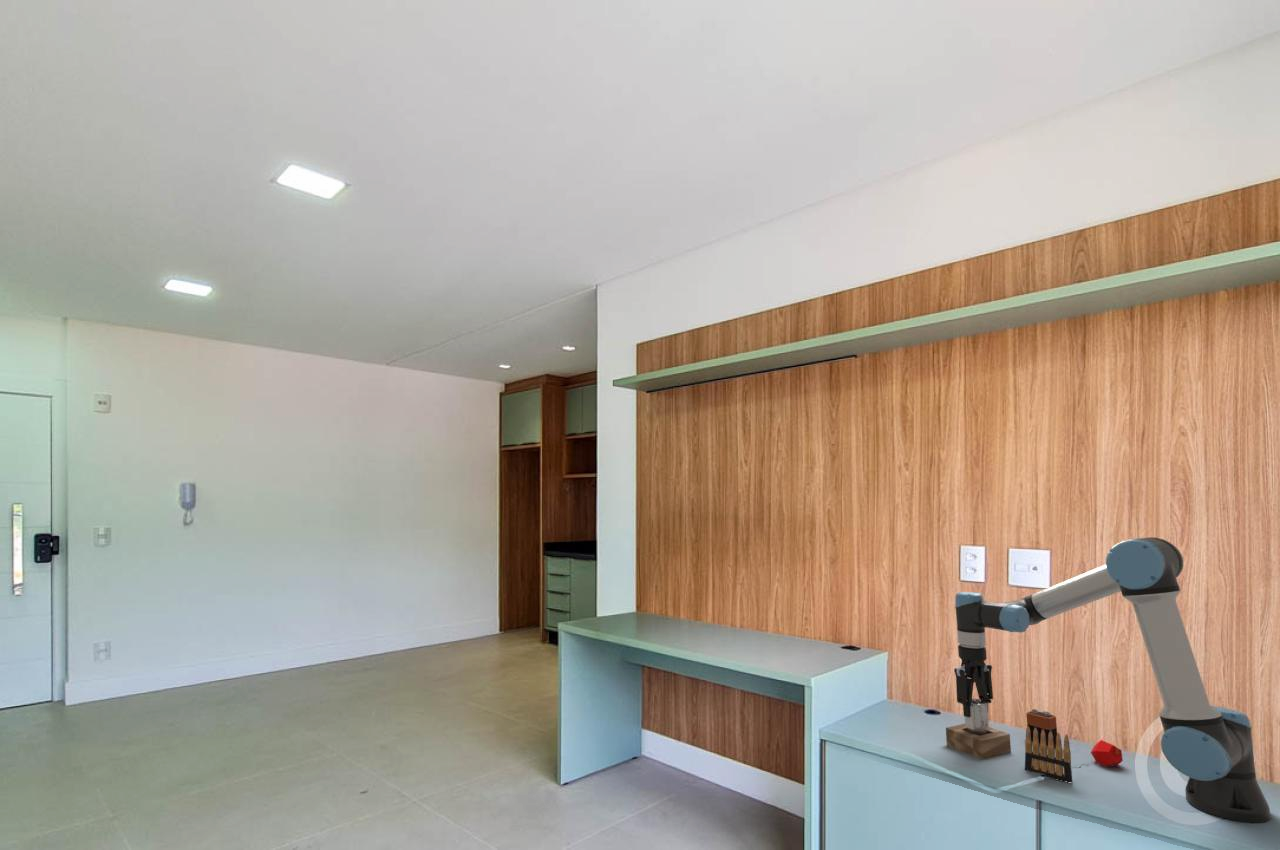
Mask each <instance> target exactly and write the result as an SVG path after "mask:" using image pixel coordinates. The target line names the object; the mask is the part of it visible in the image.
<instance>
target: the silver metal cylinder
mask: <svg viewBox="0 0 1280 850" xmlns="http://www.w3.org/2000/svg"><path fill="white" fill-rule="evenodd" d="M971 705H972V706H974V720H975V729H974V730H973V729H970V728H967V730H968V732H970V733H973V734H976V735H978V736H981V735H985V734H987V727H988V726H987V721H986V706H985V703H984V702H982V701H981V700H980V699H979V698H972V703H971Z"/></svg>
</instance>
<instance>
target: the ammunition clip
mask: <svg viewBox="0 0 1280 850" xmlns="http://www.w3.org/2000/svg"><path fill="white" fill-rule="evenodd" d="M1025 729H1026V730H1025V740H1024V748H1025V749H1024V751H1025V752H1024V753H1025V754H1024V755H1025V757H1024V770H1025V771H1030V772H1032V773H1033V772H1034V773H1037V774H1041V775H1040V776H1041V777H1044V778H1049V779H1053V780H1056V779H1058V780H1057V781H1060V780H1062V781H1061V782H1064V781H1067V782H1066V783H1068V782H1072V783H1073V774H1072V773H1073V772H1072V755H1071V748H1070V747H1071V746H1070V739H1069V735H1068V734H1067V733H1066V734H1065V736H1064V740H1063V744H1062V738H1061V734H1060V732H1057V737H1056V748H1054V742H1053V735H1052V732H1051V731H1050V732H1049V736H1048V746H1047V745H1046V736H1045V732H1044V729H1042V731H1041V742H1040V744H1039V739H1038V732H1037V729H1036V727H1035V729H1034V732H1033V742H1032V741H1031V732H1030V728H1029V726H1027V725H1026V728H1025ZM1062 745H1063V746H1062ZM1062 747H1063V748H1062Z"/></svg>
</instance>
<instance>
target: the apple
mask: <svg viewBox="0 0 1280 850" xmlns="http://www.w3.org/2000/svg"><path fill="white" fill-rule="evenodd" d="M1090 754H1091V755H1092V757H1093V759H1094V760H1095V763H1097V762H1098V763H1097V764H1099V763H1100V764H1099V765H1101V764H1102V765H1103V767H1104V766H1107V767H1113V766H1112V765H1115V766H1118V765H1119V764H1121V763H1122V762H1124V760H1123V753H1122V749H1120V748H1118V747H1117V746H1115V745H1114V744H1112V743H1110V742H1107V741H1105V740H1102V739H1101V740H1099V741H1097V742H1096V744H1095V745H1094V746H1093V748H1092V749H1091V751H1090ZM1102 765H1101V766H1102Z"/></svg>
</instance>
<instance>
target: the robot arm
mask: <svg viewBox="0 0 1280 850" xmlns="http://www.w3.org/2000/svg"><path fill="white" fill-rule="evenodd" d="M1183 569H1184V557H1183V555H1182V553H1181V552H1180V550H1179V549H1178V548H1177V547H1176V546H1175V545H1174V544H1173V543H1171V542H1170V541H1168V540H1166V539H1163V538H1160V537H1142V538H1139V537H1137V538H1128V539H1125V540H1122V541H1120V542H1118V543H1116V544H1115V545H1113V546H1112V547H1111V548H1110V549H1109V551H1108V552H1107V555H1106V557H1105V564H1104V565H1101V566H1099V567H1096V568H1094V569H1091V570H1089V571H1086V572H1085V573H1082V574H1079V575H1075V576H1074V577H1072V578H1069V579H1066V580H1065V581H1062V582H1059V583H1057V584H1055V585H1052V586H1050V587H1047V588H1045V589H1043V590H1040V591H1037V592H1034V593H1032V594H1030V595H1027V596H1025V597H1023V598H1020V599H1017V600H1012V601H1011V600H1010V601H1007V602H995V601H994V602H991V601H986V600H984V597H983V594H982V593H980V592H973V591H960V592H957V593H956V594H955V596H954V597H955V600H954V601H955V606H954V609H955V615H956V616H955V618H956V631H957V643H958V646H957V652H958V657H959V659H960V661H961V664H960V667H959V668H954V675H955V686H956V702H957V703H958V704H962V710H963V716H964V724H965V727H967V728H970V729H973V730H974V729H975V720H974V706H972V705H971V703H972V699H973V692H974V684H975V687H976V691H977V696H978V699H979V700H980V701H982V702H984V703H985V706H986V721H987V727H990V724H989V704H991V703H992V700H993V699H994V693H993V679H992V669H993V666H992V665H991V664H987V663H985V661H986V660H987V656H988V655H987V648H986V647H985V646H986V645H987V642H986V632H985V629H986V628H987V629H994V630H999V631H1005V632H1009V633H1025V632H1026V631H1027V629H1028V628H1029V626H1033V625H1036V624H1039V623H1041V622H1043V621H1046V620H1048V619H1050V618H1053V617H1056V616H1058V615H1062V614H1063V613H1066V612H1069V611H1071V610H1074V609H1077V608H1080V607H1083V606H1085V605H1088V604H1091V603H1094V602H1096V601H1098V600H1102V599H1104V598H1106V597H1109V596H1113V595H1114V594H1117V593H1120V592H1121V595H1122V597H1123V598H1124V599H1126V600H1127V601H1129V602H1130V603H1131V604H1132V606H1133V610H1134V613H1135V615H1136V619H1137V622H1138V626H1139V628H1140V629H1139V630H1140V632H1141V635H1142V639H1143V642H1144V645H1145V648H1146V651H1147V655H1148V657H1149V661H1150V664H1151V665H1150V666H1151V668H1152V671H1153V673H1154V677H1155V680H1156V683H1157V687H1158V690H1159V694H1160V696H1161V700H1162V702H1163V703H1162V704H1163V708H1161V710H1160V711H1159V712H1158V715H1159V719H1160V721H1161V722H1160V723H1161V725H1162V730H1163V734H1162V735H1161V740H1160V748H1161V751H1162V753H1163V755H1164V757H1165V759H1166V760H1167V762H1168V763H1169V764H1170V765H1171V766H1172V767H1173V768H1174V769H1175V770H1176V771H1178V772H1180V773H1181V774H1182V775H1185V776H1186V777H1188V779H1187V783H1186V785H1185V789H1184V790H1185V800H1186V801H1187V803H1188V804H1190V805H1191V806H1193V807H1194V808H1196V809H1198V810H1200V811H1201V812H1205V813H1207V814H1210V815H1212V816H1216V817H1219V818H1223V819H1227V820H1230V821H1231V820H1232V821H1238V822H1243V823H1244V822H1246V823H1264V822H1265V823H1266V822H1268V821H1269V820H1270V819H1271V810H1270V809H1271V808H1270V805H1269V804H1268V801H1267V799H1266V797H1265V795H1264V793H1263V791H1262V790H1261V789H1262V788H1261V787H1260V785H1259V783H1258V781H1257V775H1256V774H1257V773H1256V764H1255V756H1254V755H1255V754H1254V748H1253V738H1252V737H1253V736H1252V729H1253V728H1252V725H1251V722H1250V718H1249V717H1248V715H1247V714H1245V713H1244V712H1242V711H1238V710H1234V709H1230V708H1226V707H1221V706H1215V705H1211V704H1210V700H1209V698H1208V695H1207V692H1206V689H1205V686H1204V683H1203V680H1202V676H1201V673H1200V671H1199V668H1198V664H1197V662H1196V658H1195V655H1194V653H1193V649H1192V646H1191V643H1190V640H1189V637H1188V634H1187V631H1186V628H1185V625H1184V622H1183V619H1182V616H1181V612H1180V610H1179V607H1178V604H1177V600H1176V599H1177V597H1178V596H1179V595H1180V593H1181V588H1180V586H1179V583H1178V579H1177V578H1178V577H1179V576H1180V574H1182V572H1183Z"/></svg>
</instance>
